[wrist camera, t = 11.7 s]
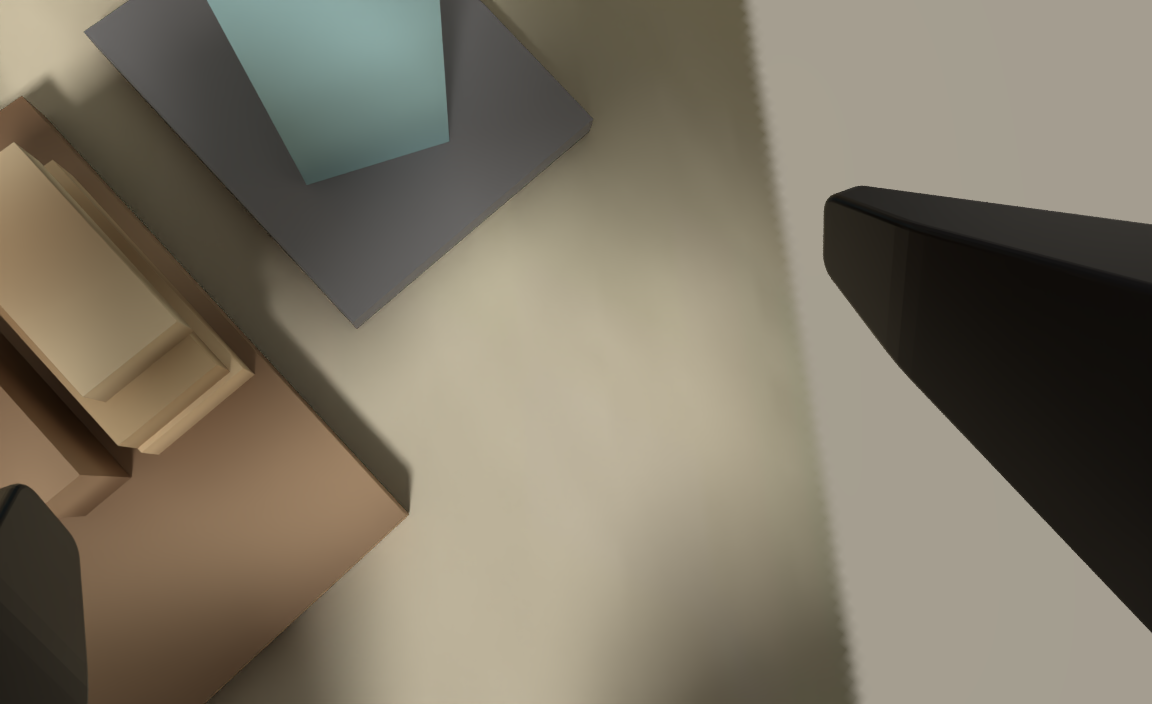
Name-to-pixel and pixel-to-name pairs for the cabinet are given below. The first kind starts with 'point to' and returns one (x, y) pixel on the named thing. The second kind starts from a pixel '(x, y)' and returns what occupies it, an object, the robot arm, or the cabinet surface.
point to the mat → (371, 194)
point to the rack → (159, 438)
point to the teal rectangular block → (343, 76)
